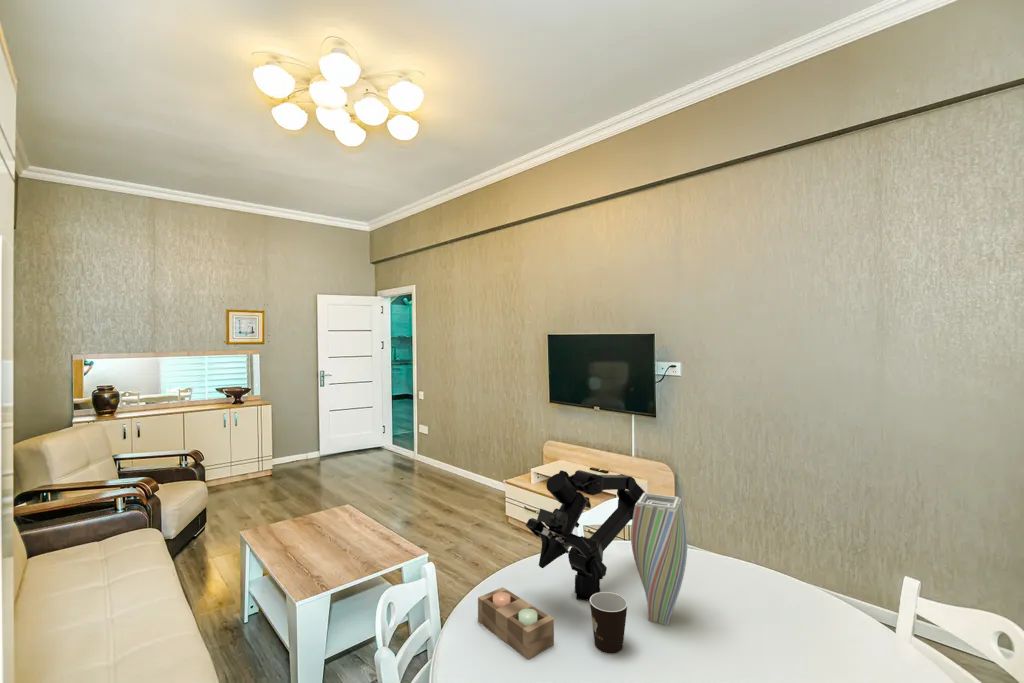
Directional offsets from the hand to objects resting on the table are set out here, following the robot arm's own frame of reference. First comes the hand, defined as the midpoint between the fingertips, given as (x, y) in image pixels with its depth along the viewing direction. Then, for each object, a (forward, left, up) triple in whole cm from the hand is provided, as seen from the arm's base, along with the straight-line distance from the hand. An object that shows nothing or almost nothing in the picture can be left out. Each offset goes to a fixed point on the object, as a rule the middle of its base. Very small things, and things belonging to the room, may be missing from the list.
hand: (540, 567), depth 119 cm
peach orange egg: (+10, +3, -12) cm, 15 cm away
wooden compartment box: (+6, +6, -13) cm, 16 cm away
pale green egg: (+2, +10, -12) cm, 15 cm away
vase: (-30, -6, -14) cm, 33 cm away
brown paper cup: (-17, +6, -14) cm, 22 cm away
